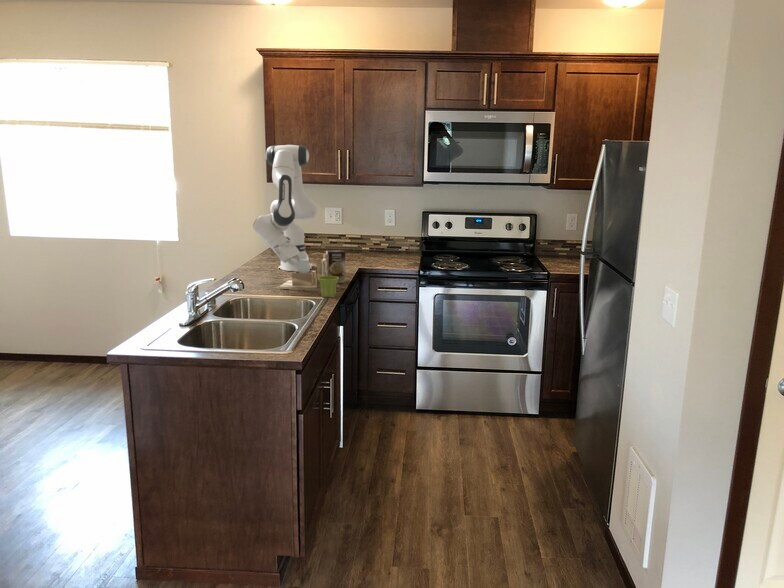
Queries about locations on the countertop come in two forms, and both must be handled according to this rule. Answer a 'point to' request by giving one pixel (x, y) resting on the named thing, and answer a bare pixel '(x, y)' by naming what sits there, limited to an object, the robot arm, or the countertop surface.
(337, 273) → the coffee box
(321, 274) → the caddy
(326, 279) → the plant pot
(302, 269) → the block
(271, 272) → the countertop surface
